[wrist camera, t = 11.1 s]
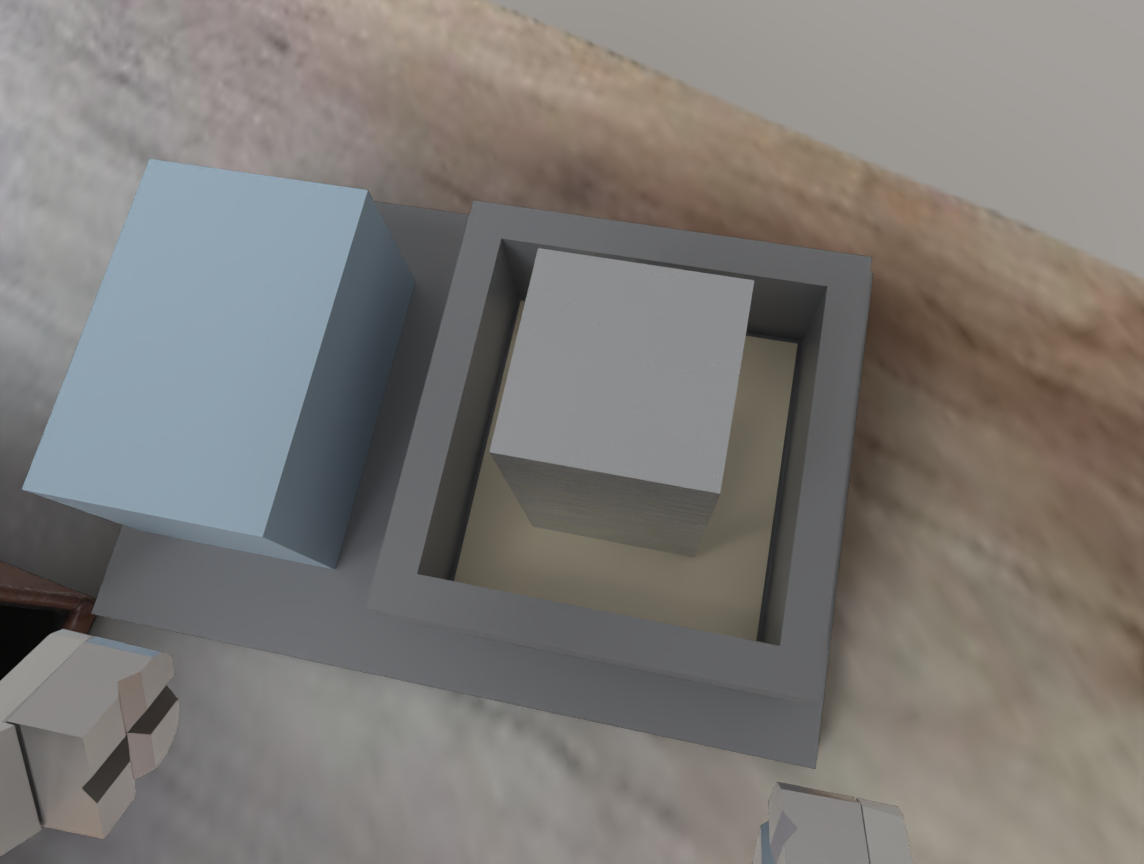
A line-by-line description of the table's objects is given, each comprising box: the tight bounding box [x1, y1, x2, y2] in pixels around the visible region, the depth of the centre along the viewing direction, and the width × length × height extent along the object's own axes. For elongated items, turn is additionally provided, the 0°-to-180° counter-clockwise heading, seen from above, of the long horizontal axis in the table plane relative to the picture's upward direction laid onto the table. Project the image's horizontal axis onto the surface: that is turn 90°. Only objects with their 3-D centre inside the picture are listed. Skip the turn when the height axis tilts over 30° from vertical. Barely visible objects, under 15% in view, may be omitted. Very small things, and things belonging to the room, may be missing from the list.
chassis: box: [22, 159, 873, 769], centre depth 24 cm, size 20×14×6 cm
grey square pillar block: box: [489, 248, 754, 557], centre depth 21 cm, size 4×4×8 cm
